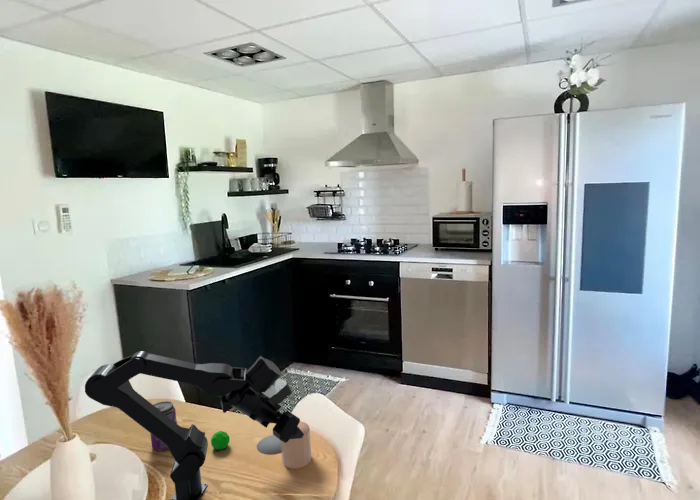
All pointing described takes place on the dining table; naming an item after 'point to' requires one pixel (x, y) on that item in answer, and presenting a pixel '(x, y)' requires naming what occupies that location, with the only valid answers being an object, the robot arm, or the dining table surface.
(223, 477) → the dining table surface
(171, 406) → the beverage can
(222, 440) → the polyhedron
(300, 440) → the cover cup
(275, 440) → the rubber mat
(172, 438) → the robot arm
